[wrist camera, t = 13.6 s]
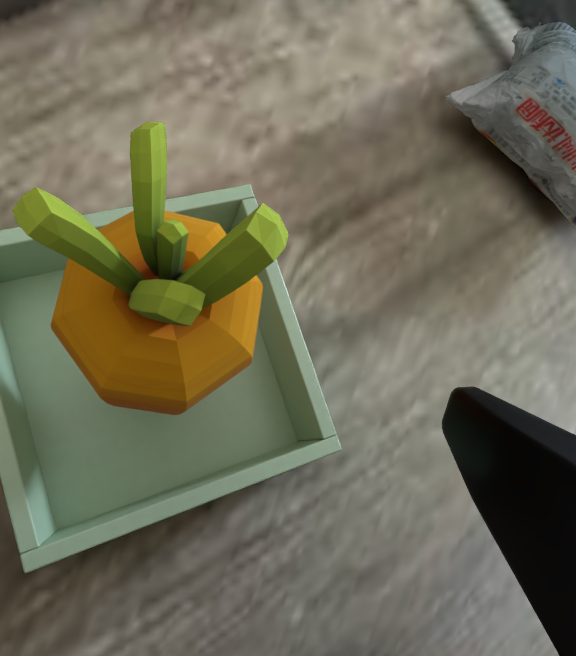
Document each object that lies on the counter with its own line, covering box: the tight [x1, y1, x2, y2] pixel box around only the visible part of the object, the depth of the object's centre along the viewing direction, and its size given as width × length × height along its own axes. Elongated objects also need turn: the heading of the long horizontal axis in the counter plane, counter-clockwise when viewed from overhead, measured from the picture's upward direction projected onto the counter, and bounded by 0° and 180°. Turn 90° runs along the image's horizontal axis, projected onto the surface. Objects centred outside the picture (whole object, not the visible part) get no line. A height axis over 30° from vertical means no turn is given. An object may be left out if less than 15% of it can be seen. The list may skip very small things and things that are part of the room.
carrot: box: [13, 122, 288, 415], centre depth 14 cm, size 5×5×15 cm
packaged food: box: [446, 22, 576, 228], centre depth 29 cm, size 9×12×5 cm
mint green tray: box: [0, 185, 341, 573], centre depth 20 cm, size 11×11×4 cm
